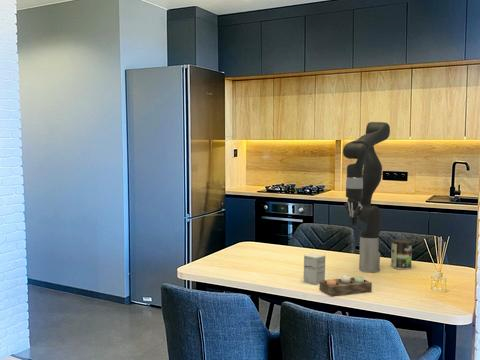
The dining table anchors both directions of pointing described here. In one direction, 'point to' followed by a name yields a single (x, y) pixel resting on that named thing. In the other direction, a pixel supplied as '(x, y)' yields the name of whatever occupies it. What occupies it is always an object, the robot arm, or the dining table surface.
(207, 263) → the dining table surface
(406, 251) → the coffee can
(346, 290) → the frame
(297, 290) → the dining table surface
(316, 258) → the supplement box
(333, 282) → the terracotta button
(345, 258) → the dining table surface
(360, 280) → the sage button
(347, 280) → the cream pill shape
